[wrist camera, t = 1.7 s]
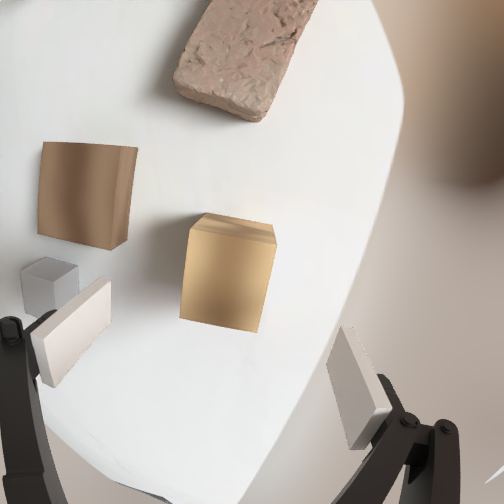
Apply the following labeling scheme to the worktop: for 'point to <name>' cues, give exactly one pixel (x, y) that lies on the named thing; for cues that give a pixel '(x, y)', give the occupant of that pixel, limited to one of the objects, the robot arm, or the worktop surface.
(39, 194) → the walnut block
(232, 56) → the brick
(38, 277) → the grey block
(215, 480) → the worktop surface
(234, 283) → the oak block
